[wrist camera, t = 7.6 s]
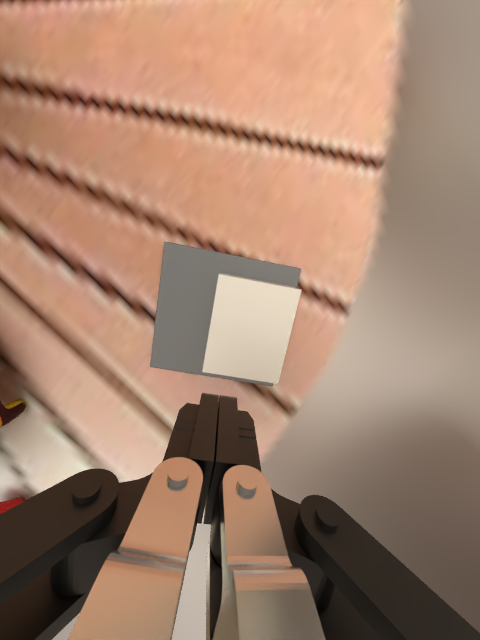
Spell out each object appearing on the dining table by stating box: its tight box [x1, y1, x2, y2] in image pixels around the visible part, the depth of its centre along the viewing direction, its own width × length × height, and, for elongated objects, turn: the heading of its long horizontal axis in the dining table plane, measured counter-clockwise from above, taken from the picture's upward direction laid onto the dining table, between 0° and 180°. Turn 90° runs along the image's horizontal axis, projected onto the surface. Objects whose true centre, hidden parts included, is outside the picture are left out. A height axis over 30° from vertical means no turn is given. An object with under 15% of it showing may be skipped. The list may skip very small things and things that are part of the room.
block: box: [202, 273, 301, 384], centre depth 26 cm, size 3×10×8 cm
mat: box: [150, 242, 301, 386], centre depth 27 cm, size 14×14×1 cm
